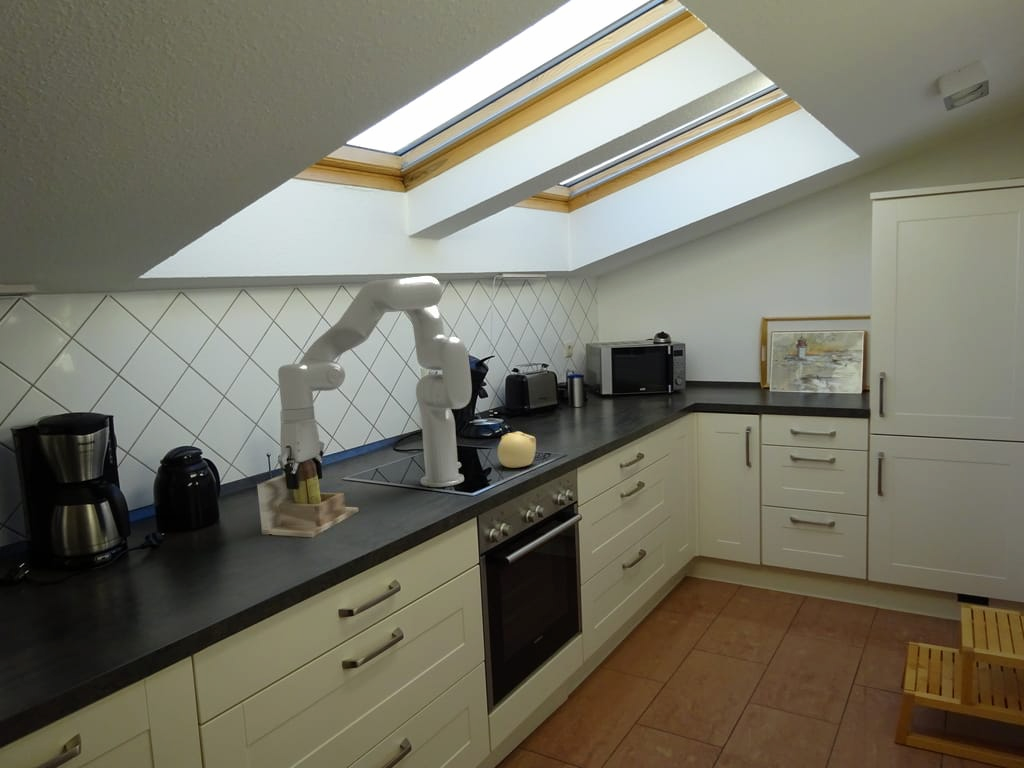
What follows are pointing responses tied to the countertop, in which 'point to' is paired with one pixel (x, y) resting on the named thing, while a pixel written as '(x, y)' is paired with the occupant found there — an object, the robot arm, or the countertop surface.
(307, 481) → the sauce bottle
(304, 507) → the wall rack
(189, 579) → the countertop surface
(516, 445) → the pale yellow rounded lump
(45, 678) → the countertop surface
